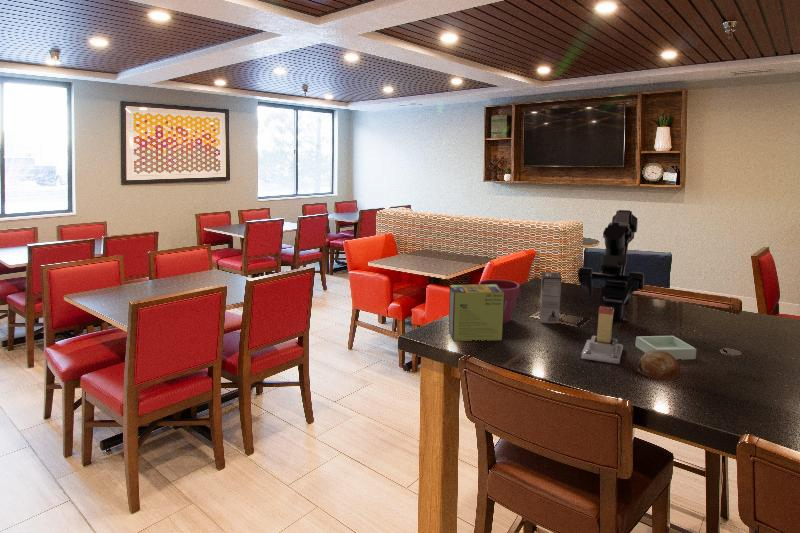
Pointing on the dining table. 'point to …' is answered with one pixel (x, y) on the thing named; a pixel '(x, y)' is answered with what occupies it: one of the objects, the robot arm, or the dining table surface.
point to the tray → (666, 346)
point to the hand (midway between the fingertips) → (606, 301)
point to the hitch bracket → (602, 351)
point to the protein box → (476, 312)
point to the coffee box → (550, 297)
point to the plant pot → (506, 295)
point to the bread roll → (659, 365)
